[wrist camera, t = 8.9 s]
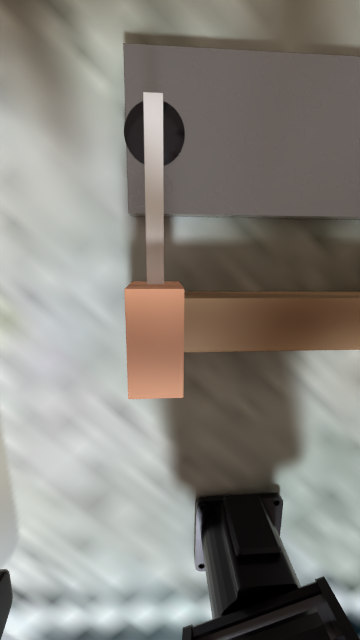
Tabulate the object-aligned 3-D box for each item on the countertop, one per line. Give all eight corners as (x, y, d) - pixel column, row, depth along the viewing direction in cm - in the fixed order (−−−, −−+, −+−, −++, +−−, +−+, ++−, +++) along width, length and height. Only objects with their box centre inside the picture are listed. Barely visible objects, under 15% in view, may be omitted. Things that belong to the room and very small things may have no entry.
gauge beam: (422, 346, 20) (541, 388, 14) (134, 351, 19) (121, 399, 13) (462, 144, 18) (633, 81, 11) (127, 132, 16) (107, 53, 10)
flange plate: (447, 220, 18) (464, 218, 17) (128, 215, 17) (126, 213, 16) (475, 75, 17) (496, 63, 16) (123, 56, 15) (121, 42, 14)
